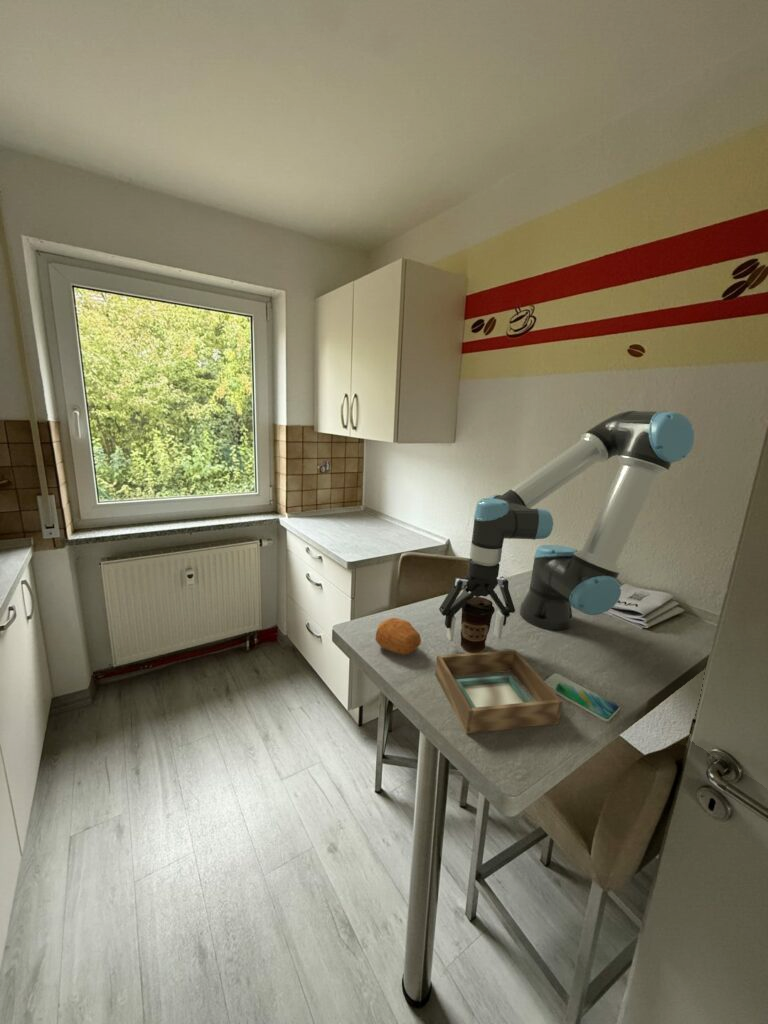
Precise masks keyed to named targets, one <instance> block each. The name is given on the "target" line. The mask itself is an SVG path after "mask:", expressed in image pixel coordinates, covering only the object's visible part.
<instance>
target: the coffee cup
mask: <svg viewBox="0 0 768 1024" xmlns="http://www.w3.org/2000/svg"><path fill="white" fill-rule="evenodd" d="M493 604H494V603H493V600H490V599H488V598H486V597H483V596H479V597H475V596H474V597H473V598H472V599H469V600H468V601H467V602H466V603H465V604H464V606H463V607H462V608H461V621H460V622H461V623H460V624H461V628H460V647H461V648H462V649H463V650H465V651H467V652H470V653H483V652H484V651H485V650H486V641H487V637H488V634H489V632H490V628H491V622H492V618H493V615H494V614H495V611H496V610H495V606H494V605H493Z"/></svg>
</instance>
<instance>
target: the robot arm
mask: <svg viewBox="0 0 768 1024" xmlns="http://www.w3.org/2000/svg"><path fill="white" fill-rule="evenodd" d="M694 441H695V429H694V428H693V424H692V422H691V420H689V418H688V417H687V416H685V415H684V414H683V413H680V412H674V411H667V410H660V411H657V410H656V411H650V410H648V411H645V410H640V411H639V410H629V411H623V412H619V413H617V414H614V415H612V416H610V417H608V418H607V419H604V420H603V421H601V422H599V423H598V424H596V425H594V426H593V427H592V428H590V429H589V430H587V431H586V432H584V433H583V434H582V435H581V436H580V440H579V441H578V442H577V443H575V444H573V445H572V446H570V447H569V448H568V449H566V450H565V451H563V452H562V453H560V454H559V455H558V456H556V457H555V458H554V459H552V460H550V461H549V462H548V463H546V464H545V465H544V466H542V467H541V468H539V469H538V470H536V471H535V472H534V473H531V475H529V476H528V477H526V478H525V479H523V480H522V481H521V482H519V483H518V484H516V485H514V486H512V488H511V489H509V490H507V491H506V492H505V493H503V494H493V495H490V496H489V497H485V498H480V499H478V501H477V503H476V507H475V512H474V516H473V520H474V521H473V530H472V537H471V543H470V551H469V558H470V559H468V564H467V565H468V567H467V576H466V577H465V579H461V578H460V577H457V576H456V577H455V578H454V580H453V585H452V587H451V588H450V590H449V592H447V595H446V596H445V598H444V600H443V601H442V604H440V607H439V608H438V610H439V612H440V614H441V615H442V616H445V620H444V625H445V628H447V629H446V638H447V639H448V640H449V642H454V637H455V636H454V635H455V628H456V619H457V618H456V616H455V615H456V614H457V613H458V612H459V611H460V610H462V607H463V606H464V604H465V603H466V602H467V601H468V600H469V599H472V598H473V597H483V598H486V597H488V596H489V597H490V598H491V600H492V602H494V603H495V606H497V608H498V609H499V610H497V611H496V615H495V621H494V629H493V635H494V636H495V637H496V638H497V639H499V640H501V639H502V634H503V627H504V626H506V625H507V619H508V617H510V616H511V614H514V613H515V612H516V608H515V605H514V602H513V600H512V599H513V598H512V596H511V593H510V590H509V580H508V579H506V578H505V576H500V577H499V573H500V562H501V561H502V560H501V559H502V553H503V547H504V546H503V545H504V540H505V539H509V540H511V539H512V540H514V539H517V540H534V541H535V540H543V539H547V538H548V537H550V536H551V534H552V531H553V527H554V518H553V516H552V513H550V511H549V510H547V509H543V508H538V507H537V508H534V506H536V505H538V504H539V503H541V502H542V501H543V500H545V499H546V498H548V497H549V496H550V495H552V494H554V493H555V492H556V491H558V490H560V489H561V488H562V487H563V486H565V485H566V484H568V483H569V482H570V481H572V480H573V479H575V478H577V477H578V476H580V475H581V474H583V473H584V472H586V471H587V470H588V469H589V468H591V467H593V465H595V464H597V463H604V462H606V461H608V459H610V458H612V457H616V456H617V457H616V458H617V460H618V462H619V465H620V466H619V468H618V470H617V472H616V474H615V477H614V479H613V481H612V484H611V486H610V488H609V490H608V492H607V494H606V497H605V499H604V502H603V503H602V506H601V508H600V511H599V512H598V514H597V517H596V519H595V521H594V523H593V525H592V528H591V530H590V532H589V533H588V536H587V539H586V541H585V543H584V544H583V545H584V546H583V547H582V548H581V549H580V550H578V549H576V548H573V547H569V546H566V545H557V544H543V545H540V546H538V547H537V548H536V549H535V554H534V556H533V558H534V560H533V565H532V571H531V578H530V583H529V588H528V591H527V593H526V595H525V598H524V599H523V601H522V602H521V603H520V607H519V615H520V617H521V618H522V619H524V620H525V621H526V622H528V623H529V624H531V625H534V626H536V627H539V628H542V629H547V630H551V631H562V630H567V629H570V627H571V626H572V624H573V611H572V608H573V609H575V610H578V611H580V612H581V613H583V614H585V615H587V616H598V615H603V613H607V612H609V611H610V610H611V609H612V608H613V607H614V606H615V605H616V604H617V603H618V602H619V600H620V598H621V595H622V590H621V584H620V583H619V582H618V580H617V579H618V576H619V574H620V572H621V571H620V568H619V566H618V560H619V559H620V557H621V554H622V552H623V550H624V548H625V545H626V544H627V542H628V539H629V537H630V536H631V533H632V531H633V529H634V527H635V525H636V522H637V521H638V518H639V516H640V514H641V512H642V509H643V508H644V506H645V504H646V502H647V499H648V498H649V495H650V493H651V491H652V489H653V486H654V485H655V483H656V480H657V478H658V477H659V476H662V475H663V474H666V473H668V471H669V470H670V468H671V466H672V464H673V463H676V462H680V461H682V460H683V459H685V458H686V457H687V456H688V455H689V454H690V452H691V451H692V448H693V446H694V443H695V442H694ZM498 577H499V578H498ZM464 586H466V587H464ZM497 586H498V587H499V589H500V592H501V595H502V598H503V601H504V604H505V605H504V604H503V602H502V600H501V599H500V598H499V596H498V595H497V593H496V591H495V588H497ZM461 592H462V593H461Z"/></svg>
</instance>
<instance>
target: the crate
mask: <svg viewBox="0 0 768 1024" xmlns="http://www.w3.org/2000/svg"><path fill="white" fill-rule="evenodd" d="M434 670H435V673H434V676H435V678H436V680H437V681H438V683H439V685H440V687H441V689H442V691H443V692H444V695H445V696H446V699H447V700H448V702H449V704H450V707H451V708H452V710H453V712H454V713H455V716H456V717H457V720H458V722H459V723H460V726H461V727H462V729H463V730H464V733H465V734H466V735H467V734H475V733H485V732H493V731H501V730H511V729H517V728H521V729H522V728H528V727H529V728H530V727H536V726H545V725H547V726H548V725H553V724H559V722H560V719H561V718H560V717H561V712H562V707H563V703H564V702H563V701H562V699H561V698H560V697H559V695H558V694H556V693H554V692H553V691H552V690H551V688H550V687H549V686H548V685H547V684H546V683H545V682H544V681H543V680H544V679H543V678H542V677H541V676H540V675H539V674H538V673H537V671H536V670H534V669H533V668H532V667H531V665H530V664H529V663H528V662H527V661H526V659H525V658H523V656H522V655H521V654H520V653H518V651H517V650H516V649H515V650H499V651H487V652H484V651H482V652H470V653H469V652H468V653H458V654H457V653H456V654H454V653H453V654H443V655H442V654H441V655H439V654H438V655H437V656H436V663H435V669H434ZM499 672H512V674H513V675H514V676H515V677H516V678H517V680H519V683H521V684H522V686H523V687H524V688H525V689H526V690H527V692H528V693H529V694H530V696H532V698H533V699H534V700H535V701H532V700H531V698H529V696H528V694H526V692H525V691H524V689H522V687H521V686H520V685H519V684H518V682H517V681H516V680H515V679H514V677H513V676H512V675H511V674H508V675H506V674H504V675H495V676H494V675H493V676H483V677H470V678H458V679H455V678H454V676H463V675H475V674H487V673H499Z"/></svg>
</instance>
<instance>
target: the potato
mask: <svg viewBox="0 0 768 1024" xmlns="http://www.w3.org/2000/svg"><path fill="white" fill-rule="evenodd" d="M375 641H376V642H377V644H378V645H379V646H380V647H381V648H383V649H385V650H387V651H389V652H390V651H391V653H396V654H399V655H403V656H407V655H410V654H412V653H413V652H415V650H416V649H418V648H419V646H420V645H421V642H422V639H421V635H420V633H419V632H418V631H417V630H416V628H414V626H413V625H412V624H411V623H410V621H408V620H405V619H401V618H398V617H391V618H388V619H386V620H384V621H382V622H381V623H380V624H378V627H377V629H376V633H375Z"/></svg>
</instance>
